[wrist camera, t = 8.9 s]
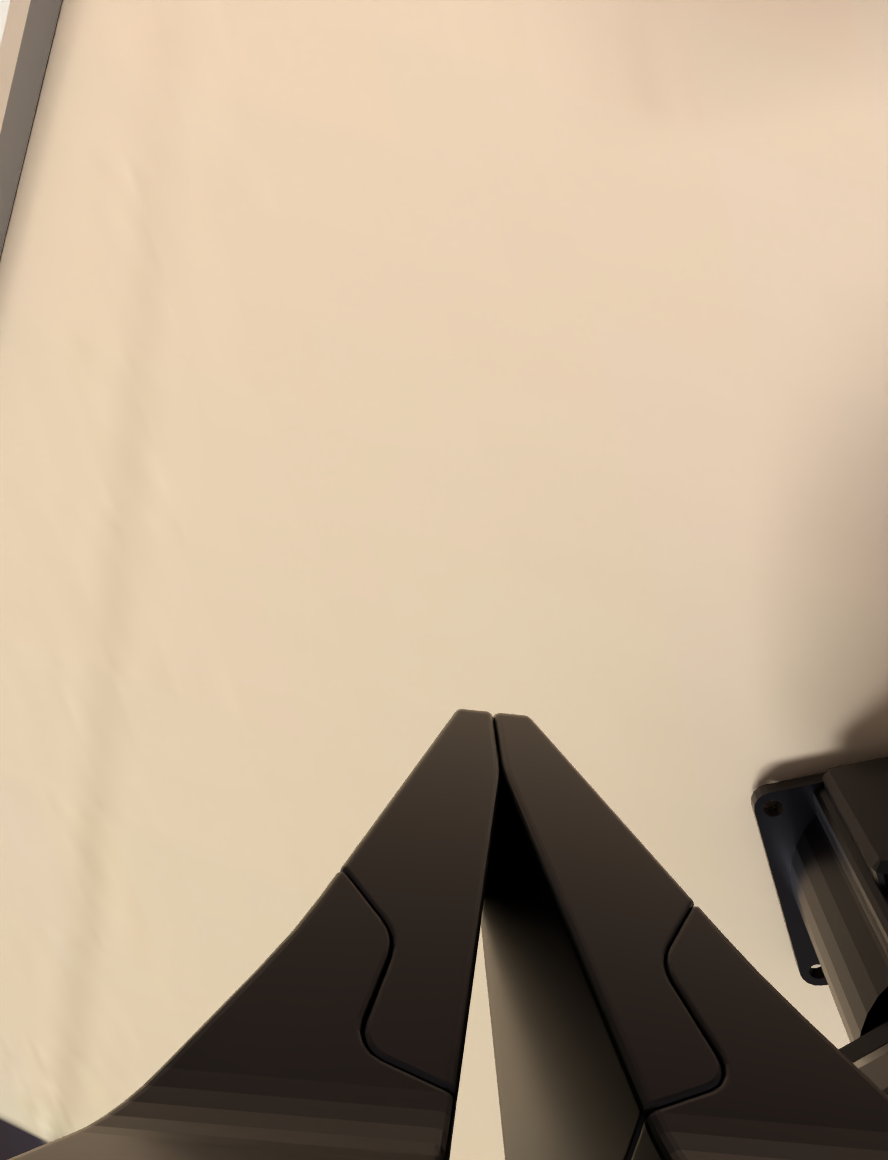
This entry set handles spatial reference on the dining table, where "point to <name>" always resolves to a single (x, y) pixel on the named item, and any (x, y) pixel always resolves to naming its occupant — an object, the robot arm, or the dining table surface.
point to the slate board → (20, 86)
